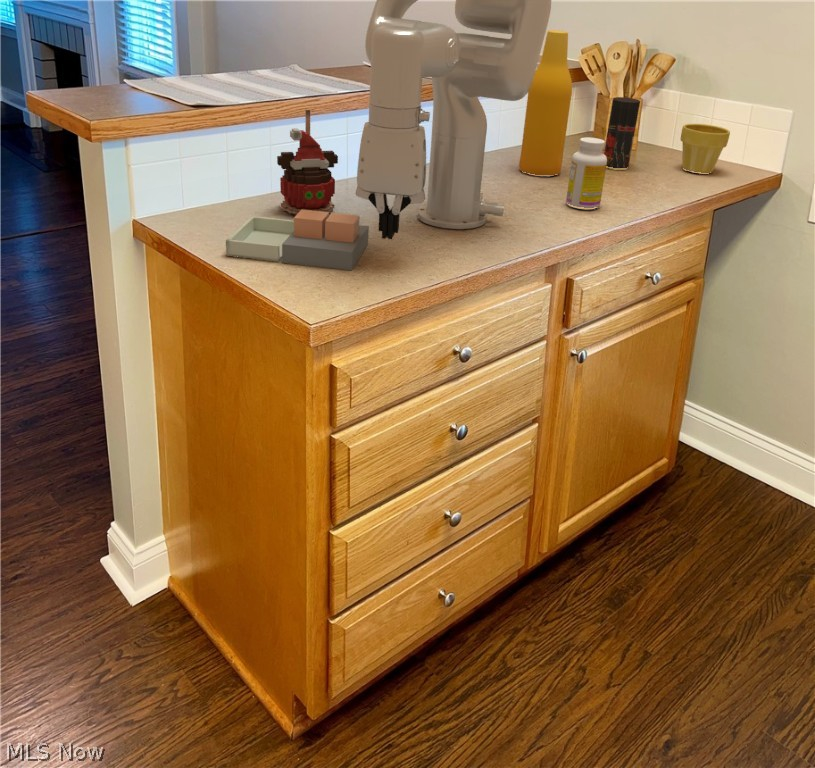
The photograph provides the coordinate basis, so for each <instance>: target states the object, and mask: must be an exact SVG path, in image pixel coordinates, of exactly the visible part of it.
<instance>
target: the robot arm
mask: <svg viewBox="0 0 815 768" xmlns="http://www.w3.org/2000/svg"><path fill="white" fill-rule="evenodd" d="M418 1H419V0H376V1H375V4H374V7H373V10H372V12H371V17H370V18H369V19H370V20H369V23H368V27H367V30H366V36H365V47H364V48H365V53H366V56H367V57H366V58H367V59H368V61H369V63H370V72H369V73H370V75H369V99H368V100H369V101H368V103H369V104H368V121H366V122H364V125H363V127H362V129H363V130H362V133H361V137H360V146H359V152H358V161H357V172H356V184H357V185H356V186H357V187H356V190H355V196H356V197H358V198H361V199H364V200H367V201H369V202H370V203H371V205H372V206H373V207H374V208H375V209H376V211H377V212H378V232H381V239H386V238H387V239H388V240H393V238H394V237H395V235H396V234H398V233H399V228H400V217H401V216H400V215H401V212H402V211H403V210H404V209H406V208H407V207H409V205H418V204H423V203H424V202H425V200H426V204H424V205H421V206H420V207H418V209H417V218H418V219H419V220H420V222H423V224H427V225H428V226H433V227H437V228H441V229H449V230H450V229H451V230H466V229H468V230H469V229H474V228H479V227H481V226H483V225H484V224H485V223H486V222H487V218H488V216H487V215H492V216H497V217H503V216H504V209H505V205H502V204H499V202H497V201H486V199H483V197H484V196H483V195H484V193H483V192H481V190H482V180H483V171H484V170H483V169H484V161H485V160H484V159H485V152H486V151H485V149H486V142H487V130H488V122H487V121H488V119H487V115H486V113H485V110H484V108H483V105H482V103H481V101H480V99H479V98H480V97H481V98H487V99H494V100H500V101H509V102H517V101H520V100H522V99H524V98H525V97H526V95H528V91H529V89H530V87H531V84H532V81H533V78H534V74H535V71H536V69H537V68H538V62H539V58H540V55H541V52H542V49H543V48H542V47H543V43H544V39H545V35H546V34H547V28H548V24H549V19H550V16H551V9H552V0H455V3H454V5H455V6H454V15H455V19H456V20H457V21H458V23H459V24H460V25H462V26H463V27H465V28H467V29H472V30H476V31H483V32H490V33H498V34H504V35H505V34H507V35H511V37H510V38H505V37H495V36H489V35H483V34H473V33H465V32H456V31H455V30H454V29H453V28H451V27H450V26H447V25H446V24H443V23H437V22H429V21H421V20H414V19H408V18H407V19H406V18H403V17H404V15H405V14H406V12H407V11H408V10H409V9H410V8H411V6H413V5H414V4H415V3H416V2H418ZM423 78H431V83H432V85H431V86H432V101H433V102H432V103H433V104H432V105H433V108H432V125H431V140H430V150H429V151H430V153H429V155H430V156H429V170H428V181H427V182H428V183H427V184H428V185H427V197H426V194H425V185H426V178H427V176H426V175H427V142H426V141H427V140H426V131H425V127H424V126H423V125H420V124H422V123H425V122H430V117H431V113H430V111H425V110H423V108H422V104H421V102H422V86H423ZM388 195H389V196H390V195H391V196H394V199H393V204H392V207H391V208H390V207H389V205H388V204H389V203H388Z"/></svg>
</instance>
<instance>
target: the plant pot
mask: <svg viewBox="0 0 815 768" xmlns="http://www.w3.org/2000/svg"><path fill="white" fill-rule="evenodd" d="M730 135H731V131H730V130H729V129H727V128H724V127H721V126H717V125H712V124H704V123H703V124H702V123H685V124H683V125H682V129H681V134H680V142H682V158H681V159H682V162H681V163H682V166H681V167H683V168H684V169H686V170H689V171H694V172H701V173H710V172H712V173H713V171H714V169H715V168H716V164H717V163H718V160H719V158H720V156H721V153H722V151H723V149H724V148H726V147H727V146H728V143H729V139H730ZM683 168H682V169H683Z"/></svg>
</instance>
